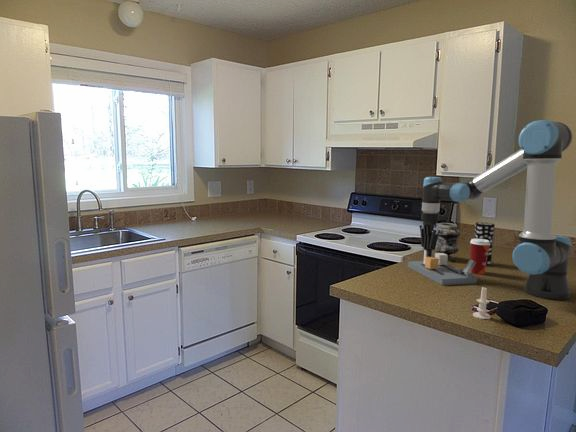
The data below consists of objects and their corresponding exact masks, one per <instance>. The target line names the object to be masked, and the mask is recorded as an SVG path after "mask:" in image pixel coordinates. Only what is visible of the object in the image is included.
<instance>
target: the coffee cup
mask: <svg viewBox="0 0 576 432" xmlns="http://www.w3.org/2000/svg"><path fill="white" fill-rule="evenodd" d="M469 243H470V257H469V260H470V259H471V260H473V261H475V262H476V264H475V265H474V267H473V269H472V270H471V273H472V274H474V275H485V273H486V269H487V266H486V263H487V257H488V250H489V245H490V243H489V240H485V239H474V238H471V240H470V242H469Z"/></svg>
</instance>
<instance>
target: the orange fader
mask: <svg viewBox="0 0 576 432" xmlns="http://www.w3.org/2000/svg"><path fill="white" fill-rule="evenodd" d="M438 264H439V259H438V258H436V257H435V256H431V257H426V259H425V267H427V268H429V269H438Z"/></svg>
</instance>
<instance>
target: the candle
mask: <svg viewBox="0 0 576 432" xmlns="http://www.w3.org/2000/svg"><path fill="white" fill-rule="evenodd" d="M487 290H488V289H487V288H486V287H485V286H482V287H481V292H480V298H476V302H478V303H479V304H478V307H477V308H476V312H473V313H472V317H474V318H476V319H478V318H479V319H478V320H483V319H488V320H490V319H491V315H490V314H489V313H488V309H487V304H489V303H490V301H489V300H488V299H487Z"/></svg>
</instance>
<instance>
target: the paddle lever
mask: <svg viewBox="0 0 576 432" xmlns="http://www.w3.org/2000/svg"><path fill="white" fill-rule="evenodd" d="M475 264H476V262H475V261H473V260H471V259H470V258H469V260H468V262H467V263H466V265H465V267H464V268H463V269H464V270H463V272H462V274H464V275H466V272H471V270H472V269H473V267H474V265H475Z"/></svg>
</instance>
